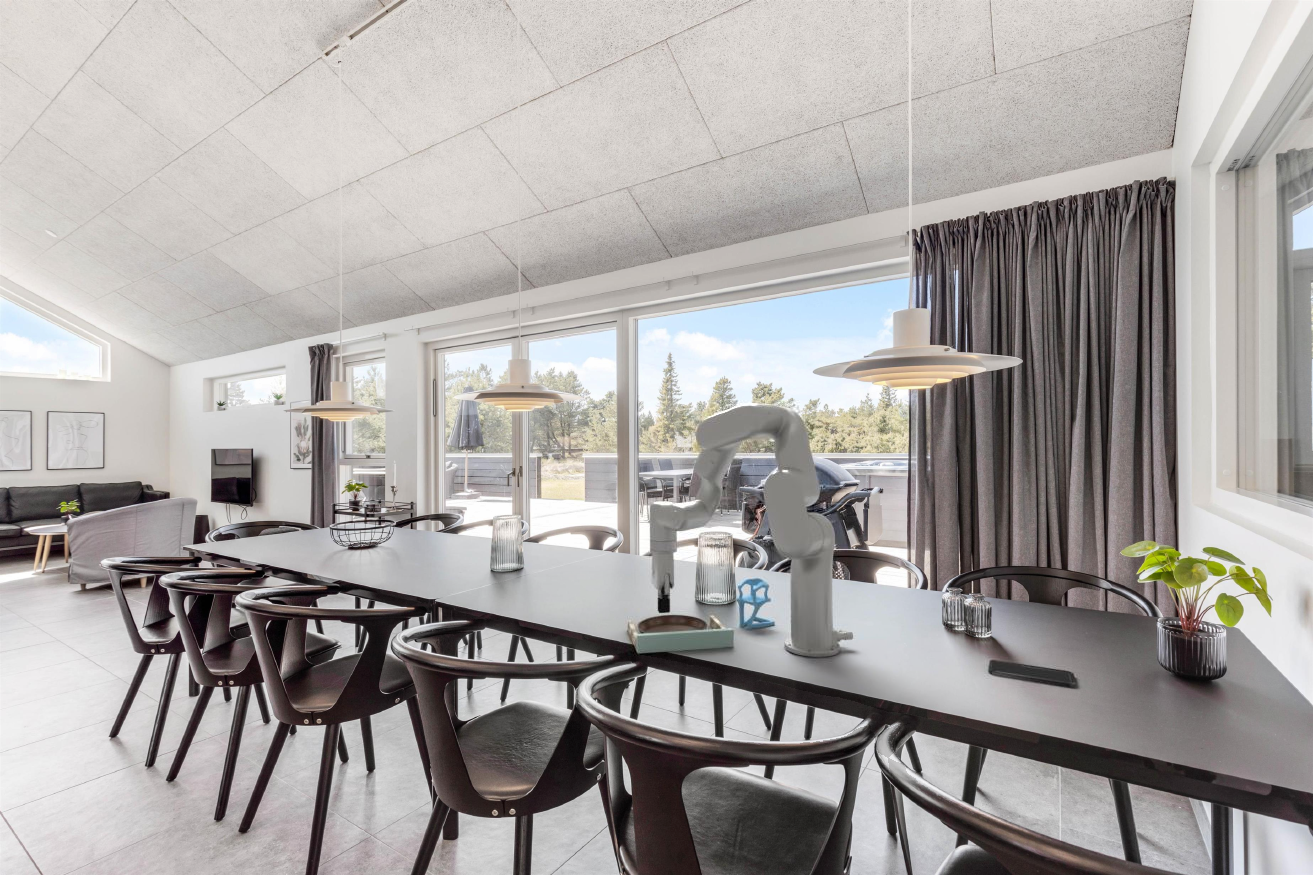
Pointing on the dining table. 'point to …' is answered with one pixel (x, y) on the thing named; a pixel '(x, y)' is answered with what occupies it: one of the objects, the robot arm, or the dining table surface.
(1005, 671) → the phone
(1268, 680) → the dining table surface
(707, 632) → the saucer dock
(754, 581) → the chair
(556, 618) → the dining table surface
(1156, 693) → the dining table surface
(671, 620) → the plant saucer
